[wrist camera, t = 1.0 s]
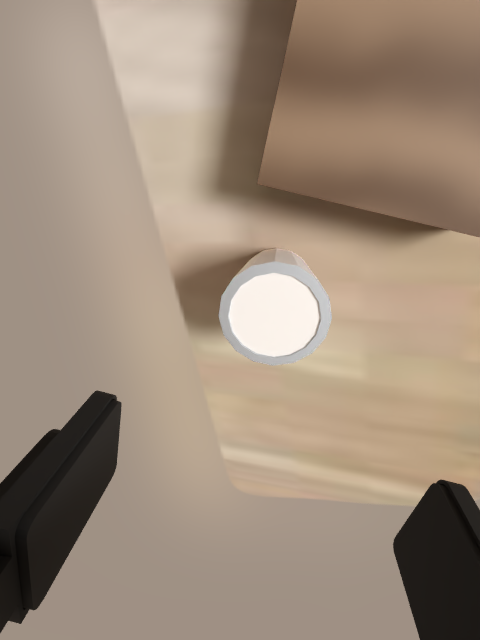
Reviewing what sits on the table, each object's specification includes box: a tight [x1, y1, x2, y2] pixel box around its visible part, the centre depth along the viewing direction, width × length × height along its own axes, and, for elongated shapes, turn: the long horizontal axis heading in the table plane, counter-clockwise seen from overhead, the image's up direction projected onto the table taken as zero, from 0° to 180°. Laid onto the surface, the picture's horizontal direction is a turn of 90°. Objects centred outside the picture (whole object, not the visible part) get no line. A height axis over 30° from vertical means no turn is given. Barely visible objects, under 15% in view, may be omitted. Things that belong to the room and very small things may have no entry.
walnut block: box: [257, 0, 480, 237], centre depth 18 cm, size 14×14×5 cm
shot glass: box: [219, 248, 332, 365], centre depth 23 cm, size 7×7×7 cm
